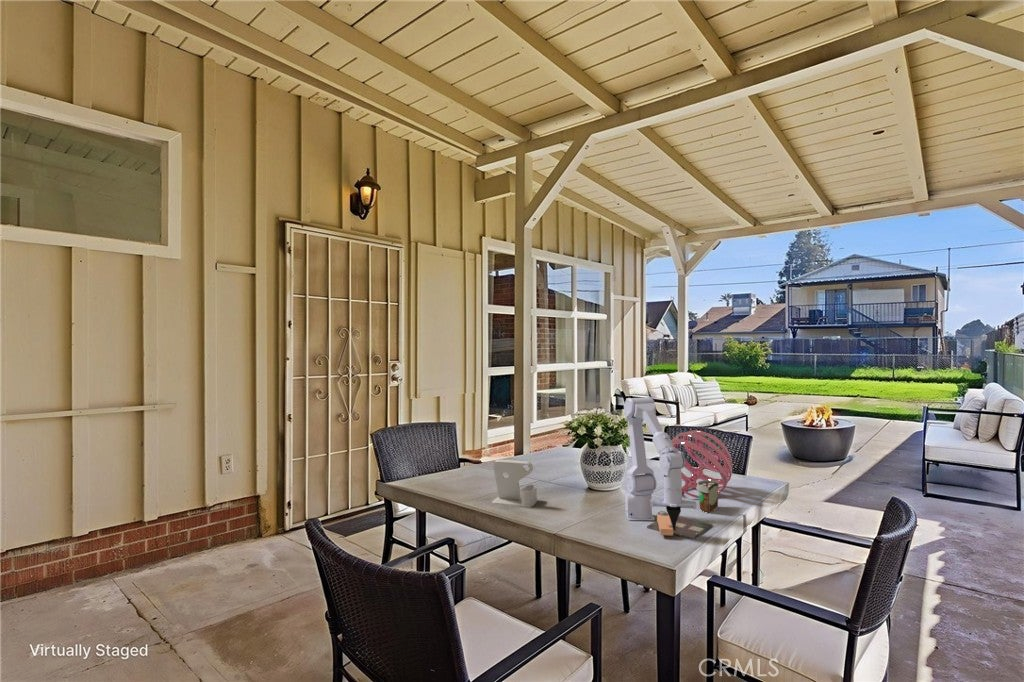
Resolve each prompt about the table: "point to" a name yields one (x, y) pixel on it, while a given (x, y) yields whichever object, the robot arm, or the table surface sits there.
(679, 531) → the label plate
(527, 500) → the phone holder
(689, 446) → the spiral basket
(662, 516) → the swing bar
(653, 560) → the table surface
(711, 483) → the food container
